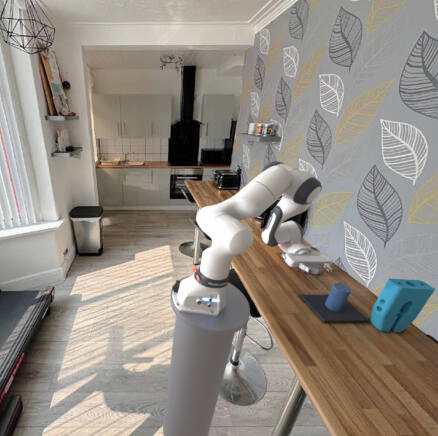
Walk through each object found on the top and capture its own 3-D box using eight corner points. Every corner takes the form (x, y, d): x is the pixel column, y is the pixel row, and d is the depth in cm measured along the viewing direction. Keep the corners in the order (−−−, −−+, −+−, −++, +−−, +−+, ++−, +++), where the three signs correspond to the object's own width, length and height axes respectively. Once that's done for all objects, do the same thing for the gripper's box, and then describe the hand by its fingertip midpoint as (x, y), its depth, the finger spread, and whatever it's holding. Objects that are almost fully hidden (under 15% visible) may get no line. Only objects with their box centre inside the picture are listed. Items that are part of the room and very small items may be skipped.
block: (395, 321, 91) (421, 280, 83) (408, 332, 87) (437, 289, 79) (364, 319, 91) (387, 278, 83) (374, 330, 87) (400, 287, 79)
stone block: (314, 266, 127) (295, 259, 129) (319, 259, 125) (299, 252, 127) (320, 279, 117) (299, 272, 119) (326, 272, 115) (304, 265, 117)
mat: (324, 322, 90) (324, 320, 89) (300, 296, 102) (301, 294, 102) (368, 322, 91) (369, 320, 90) (339, 296, 103) (340, 294, 103)
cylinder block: (331, 312, 93) (341, 292, 89) (321, 301, 98) (330, 282, 94) (345, 311, 94) (355, 292, 90) (334, 301, 99) (343, 282, 95)
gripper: (281, 248, 113) (299, 264, 101) (321, 248, 114) (344, 264, 102) (277, 259, 116) (295, 276, 103) (317, 259, 117) (339, 276, 104)
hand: (320, 270), depth 102 cm, fingers open, 8 cm apart
